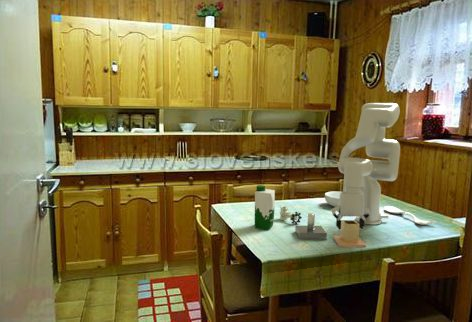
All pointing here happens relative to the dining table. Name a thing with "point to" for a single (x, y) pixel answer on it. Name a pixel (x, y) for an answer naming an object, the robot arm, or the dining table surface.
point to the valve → (289, 215)
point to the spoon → (398, 211)
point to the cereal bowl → (333, 198)
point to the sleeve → (349, 231)
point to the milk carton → (264, 208)
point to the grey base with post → (311, 230)
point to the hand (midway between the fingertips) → (349, 228)
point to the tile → (342, 244)
